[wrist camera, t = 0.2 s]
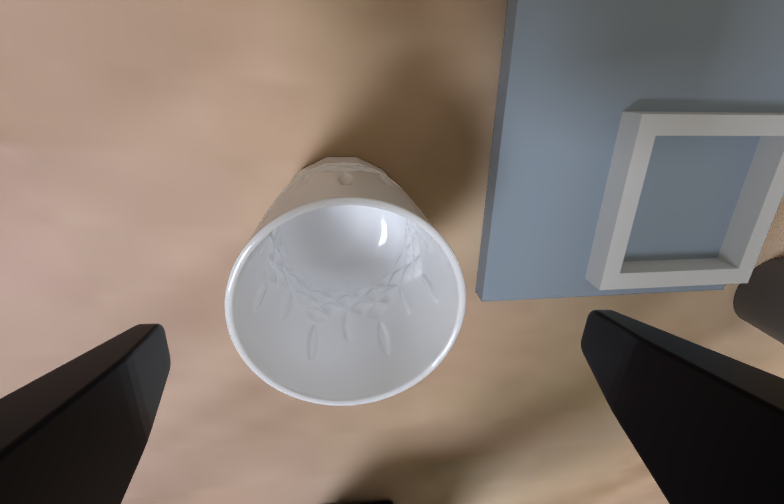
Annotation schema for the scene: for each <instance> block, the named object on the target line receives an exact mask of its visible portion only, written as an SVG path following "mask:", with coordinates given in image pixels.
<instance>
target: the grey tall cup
mask: <svg viewBox="0 0 784 504" xmlns="http://www.w3.org/2000/svg"><path fill="white" fill-rule="evenodd" d="M734 310H735V312H736V314H737V315H738V316H739V317H740V318H741V319H743V320H744V321H746V322H748V323H749V324H751V325H753V326H754V327H756V328H758V329H759V330H761V331H763V332H764V333H766V334H768V335H769V336H771V337H773V338H774V339H776V340H777V341H779V342H781V343H782V344H784V258H776V259H772V260H769V261H767V262H764V263H763V264H761V265H759V266H758V267H756V268H755V269H753V271H752V274H751V276H750V279H749V281H748V283H740V285H739V287H738V289H737V291H736V293H735V296H734Z"/></svg>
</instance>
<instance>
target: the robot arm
mask: <svg viewBox="0 0 784 504" xmlns="http://www.w3.org/2000/svg"><path fill="white" fill-rule="evenodd" d="M581 348H582V352H583V354H584V356H585V358H586V360H587V362H588V364H589V366H590V368H591V370H592V372H593V374H594V376H595V378H596V380H597V382H598V384H599V386H600V388H601V390H602V392H603V394H604V396H605V398H606V400H607V402H608V404H609V406H610V408H611V410H612V412H613V413H614V415H615V417H616V418H617V420H618V422H619V423H620V425H621V427H622V428H623V430H624V431H625V433H626V435H627V436H628V438H629V439H630V441H631V443H632V444H633V446H634V447H635V449H636V451H637V452H638V454H639V456H640V457H641V459H642V460H643V462H644V464H645V465H646V467H647V468H648V470H649V472H650V473H651V475H652V476H653V478H654V480H655V481H656V483H657V484H658V486H659V488H660V489H661V491H662V492H663V494H664V496H665V497H666V499H667V500H668V502H669V504H784V379H783V378H780V377H778V376H775V375H773V374H770V373H768V372H765V371H763V370H760V369H758V368H755V367H753V366H750V365H748V364H745V363H743V362H740V361H738V360H735V359H733V358H730V357H728V356H725V355H723V354H720V353H717V352H715V351H712V350H710V349H707V348H705V347H702V346H700V345H697V344H695V343H692V342H690V341H687V340H685V339H682V338H680V337H677V336H675V335H672V334H670V333H667V332H665V331H662V330H660V329H657V328H655V327H652V326H650V325H647V324H645V323H642V322H640V321H637V320H635V319H632V318H630V317H627V316H625V315H622V314H620V313H617V312H615V311H612V310H593V311H592V312H590V314H589V315H588V318H587V321H586V325H585V329H584V332H583V336H582V339H581ZM169 370H170V354H169V349H168V345H167V340H166V335H165V331H164V328H163V326H162V325H160V324H139V325H136V326H134V327H132V328H130V329H128V330H127V331H125V332H123V333H121V334H119V335H117V336H116V337H114V338H112V339H110V340H108V341H106V342H104V343H103V344H101V345H99V346H97V347H95V348H93V349H92V350H90V351H88V352H86V353H84V354H82V355H80V356H79V357H77V358H75V359H73V360H71V361H69V362H67V363H66V364H64V365H62V366H60V367H58V368H56V369H55V370H53V371H51V372H49V373H47V374H45V375H43V376H42V377H40V378H38V379H36V380H34V381H32V382H31V383H29V384H27V385H25V386H23V387H21V388H19V389H18V390H16V391H14V392H12V393H10V394H8V395H6V396H5V397H3V398H1V399H0V504H121V502H122V499H123V497H124V495H125V493H126V490H127V488H128V486H129V483H130V481H131V479H132V477H133V474H134V472H135V470H136V467H137V465H138V463H139V460H140V458H141V456H142V454H143V451H144V449H145V446H146V444H147V441H148V438H149V435H150V432H151V429H152V426H153V423H154V419H155V416H156V413H157V410H158V406H159V403H160V400H161V396H162V393H163V390H164V387H165V383H166V380H167V377H168V374H169ZM364 504H393V502H391V501H382V502H373V503H364Z"/></svg>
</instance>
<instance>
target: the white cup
mask: <svg viewBox="0 0 784 504" xmlns="http://www.w3.org/2000/svg"><path fill="white" fill-rule="evenodd" d="M465 306H466V290H465V282H464V277H463V273H462V270H461V267H460V264H459V262H458V260H457V258H456V256H455V254H454V252H453V250H452V249H451V247H450V246H449V244H448V243H447V242H446V240H445V239H444V238H443V237H442V235H441V234H440V233H439V232H438V231H437V229H436V228H435V227H434V226H433V224H432V223H431V222H430V221H429V220H428V219H427V217H426V216H425V215H424V214H423V213H422V211H421V210H420V208H419V207H418V206H417V204H416V203H415V202H414V201H413V200H412V199H411V198H410V197H409V196H408V195H407V194H406V193H405V192H404V191H403V189H402V188H401V187H400V186H399V185H398V184H397V183H396V182H394V181H393V180H392V179H390V178H389V177H388V176H387V174H386V173H385V172H384V171H383V170H382V169H380V168H378V167H376V166H374V165H372V164H370V163H368V162H366V161H364V160H361V159H359V158H357V157H326V158H324V159H322V160H320V161H318V162H316V163H314V164H312V165H310V166H308V167H306V168H303V169H301V170H300V171H299V172H298V174H297V175H296V176H295V178H294V179H293V180H292V182H291V183H290V184H288V185H287V186H286V187H285V188H284V189H283V190H282V192H281V193H280V194H279V196H278V197H277V198H276V200H275V201H274V203H273V204H272V205H271V206H270V208H269V209H268V210H267V212H266V214H265V215H264V217H263V218H262V220H261V222H260V223H259V225H258V226H257V228H256V230H255V231H254V233H253V234H252V236H251V238H250V239H249V241H248V242H247V244H246V245H245V247H244V248H243V250H242V251H241V253H240V254H239V256H238V258H237V260H236V262H235V264H234V266H233V268H232V270H231V273H230V276H229V279H228V283H227V287H226V293H225V317H226V323H227V327H228V331H229V334H230V337H231V339H232V342H233V344H234V346H235V348H236V350H237V351H238V353H239V355H240V356H241V358H242V359H243V360H244V362H245V363H246V364H247V365H248V367H249V368H250V369H251V370H252V371H253V372H254V373H255V374H256V375H257V376H259V377H260V378H261V379H262V380H263V381H265V382H266V383H268V384H269V385H271V386H272V387H274V388H275V389H277V390H279V391H281V392H283V393H285V394H287V395H289V396H292V397H294V398H297V399H300V400H304V401H307V402H311V403H316V404H322V405H332V406H350V405H360V404H366V403H371V402H375V401H379V400H382V399H385V398H388V397H391V396H394V395H396V394H398V393H400V392H402V391H404V390H406V389H408V388H410V387H412V386H413V385H415V384H416V383H418V382H419V381H421V380H422V379H423V378H425V377H426V376H427V375H428V374H429V373H431V372H432V371H433V370H434V369H435V368H436V367H437V366H438V365H439V364H440V362H441V361H442V360H443V359H444V358H445V356H446V355H447V354H448V352H449V351H450V349H451V348H452V346H453V344H454V342H455V340H456V338H457V336H458V334H459V331H460V329H461V326H462V322H463V318H464V314H465Z"/></svg>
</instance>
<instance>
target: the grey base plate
mask: <svg viewBox="0 0 784 504" xmlns="http://www.w3.org/2000/svg"><path fill="white" fill-rule="evenodd" d="M783 194H784V0H508V5H507V14H506V23H505V32H504V41H503V50H502V59H501V68H500V77H499V86H498V95H497V104H496V113H495V122H494V131H493V140H492V149H491V158H490V167H489V176H488V185H487V194H486V203H485V212H484V221H483V230H482V239H481V248H480V257H479V266H478V275H477V284H476V293H477V295H478V296H479V298H480V299H481V301H502V300H522V299H543V298H563V297H583V296H603V295H623V294H643V293H663V292H683V291H703V290H723V289H724V286H725V284H739V283H748V281H749V279H750V276H751V274H752V271H753V269H754V266H755V264H756V261H757V259H758V256H759V254H760V251H761V249H762V246H763V244H764V241H765V239H766V236H767V234H768V231H769V229H770V226H771V224H772V221H773V219H774V216H775V214H776V211H777V209H778V206H779V204H780V201H781V199H782V196H783Z"/></svg>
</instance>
